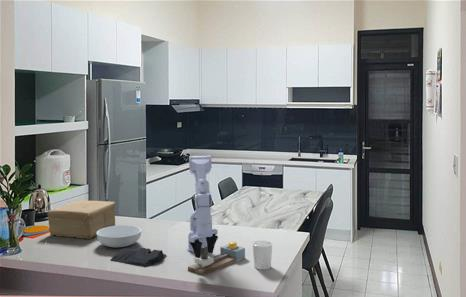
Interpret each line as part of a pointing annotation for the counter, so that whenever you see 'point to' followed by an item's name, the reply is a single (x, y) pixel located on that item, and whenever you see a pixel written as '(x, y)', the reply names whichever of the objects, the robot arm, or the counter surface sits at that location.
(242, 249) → the cabinet
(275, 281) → the counter surface
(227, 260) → the rail board
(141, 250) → the dark grey folded cloth
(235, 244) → the button
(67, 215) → the paper package
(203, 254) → the carriage
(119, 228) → the serving bowl
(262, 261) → the white cup
